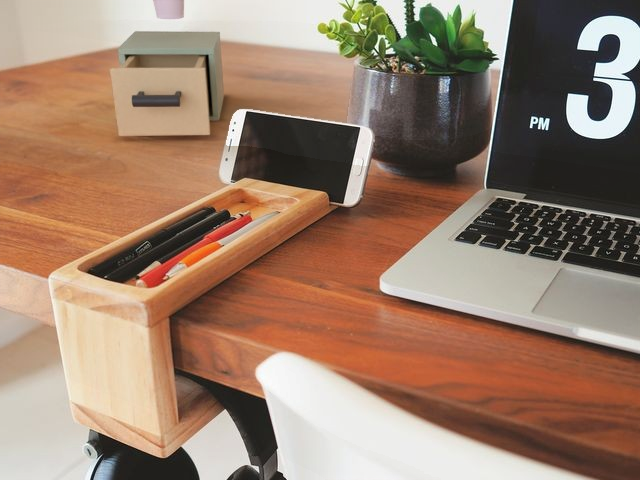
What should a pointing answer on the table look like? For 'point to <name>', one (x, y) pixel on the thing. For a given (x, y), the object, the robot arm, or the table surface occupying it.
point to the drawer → (162, 95)
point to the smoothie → (169, 9)
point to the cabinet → (182, 46)
